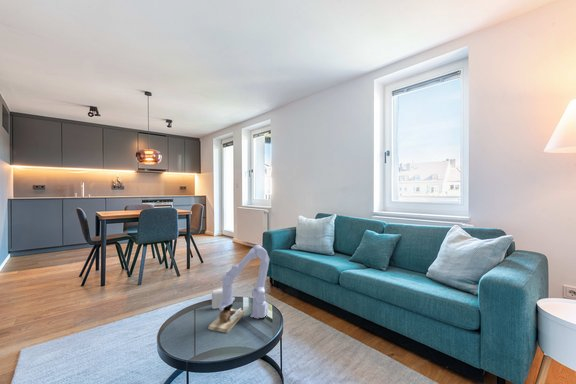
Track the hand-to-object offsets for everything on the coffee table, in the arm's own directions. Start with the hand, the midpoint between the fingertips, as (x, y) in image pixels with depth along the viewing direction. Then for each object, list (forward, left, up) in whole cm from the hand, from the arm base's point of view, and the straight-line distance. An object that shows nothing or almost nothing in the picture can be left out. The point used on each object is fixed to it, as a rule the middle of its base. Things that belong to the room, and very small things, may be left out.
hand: (227, 316), depth 160 cm
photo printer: (+14, -14, -3) cm, 20 cm away
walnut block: (0, +3, -1) cm, 3 cm away
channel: (0, -4, -1) cm, 4 cm away
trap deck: (0, 0, -3) cm, 3 cm away
